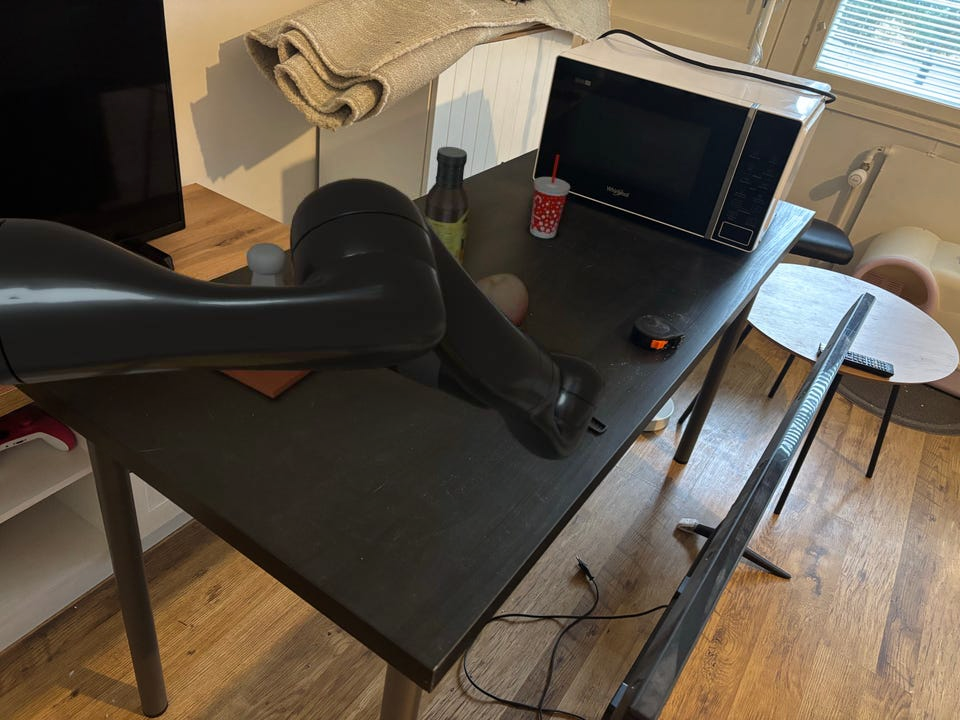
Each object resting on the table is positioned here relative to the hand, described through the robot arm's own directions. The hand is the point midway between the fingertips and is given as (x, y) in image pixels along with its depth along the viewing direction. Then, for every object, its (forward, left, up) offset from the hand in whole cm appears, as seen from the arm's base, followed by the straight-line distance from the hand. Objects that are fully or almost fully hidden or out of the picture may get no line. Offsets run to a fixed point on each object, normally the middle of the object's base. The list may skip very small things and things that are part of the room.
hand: (300, 292), depth 84 cm
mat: (-4, +3, -10) cm, 11 cm away
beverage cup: (+43, +35, -10) cm, 57 cm away
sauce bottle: (+21, +19, -10) cm, 31 cm away
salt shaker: (-4, +3, -9) cm, 11 cm away
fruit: (+26, +6, -10) cm, 29 cm away
